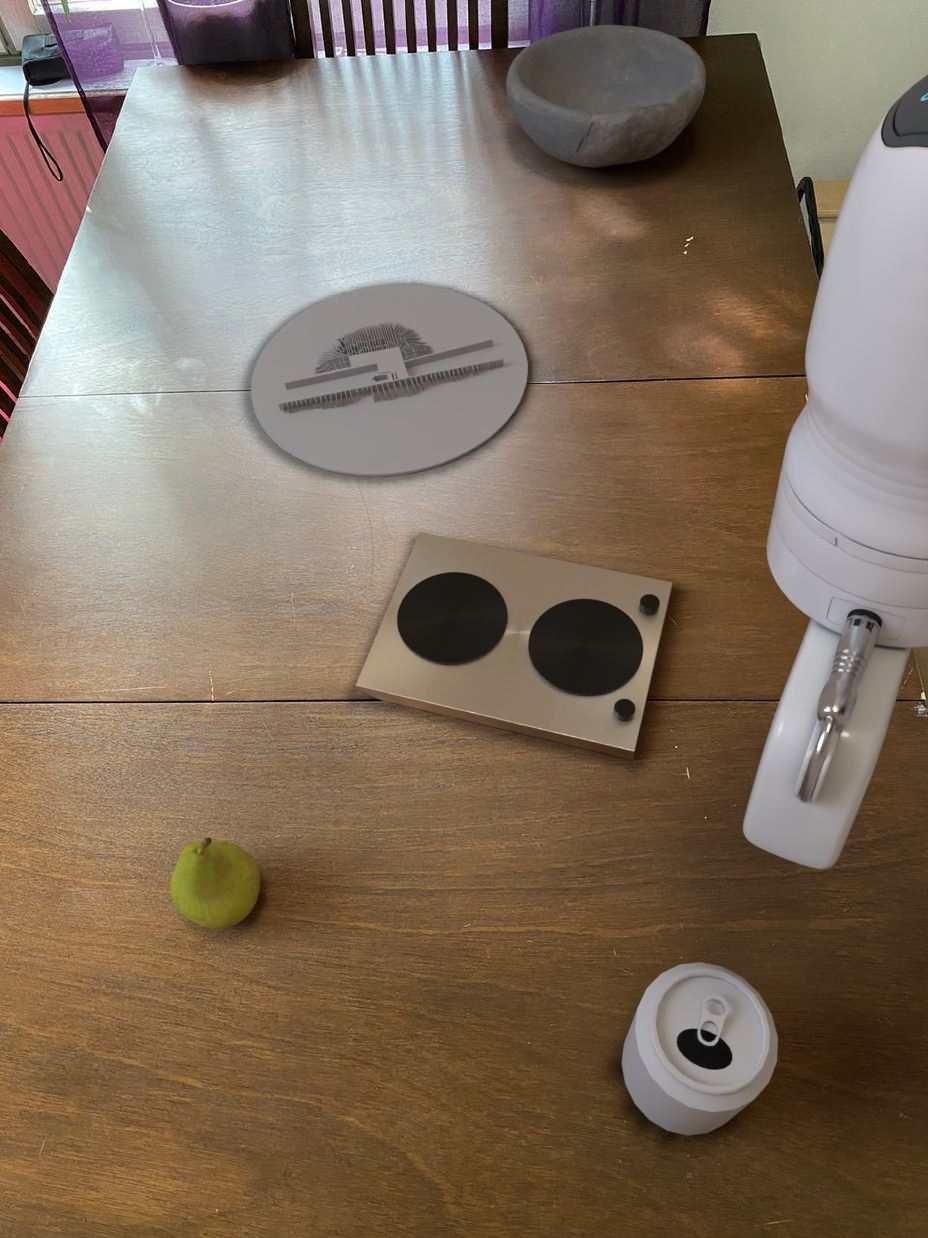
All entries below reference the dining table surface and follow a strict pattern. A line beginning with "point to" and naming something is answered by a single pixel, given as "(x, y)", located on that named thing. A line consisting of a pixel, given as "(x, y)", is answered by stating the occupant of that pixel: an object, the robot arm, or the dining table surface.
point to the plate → (389, 380)
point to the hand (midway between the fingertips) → (825, 733)
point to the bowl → (605, 93)
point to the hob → (520, 643)
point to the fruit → (215, 883)
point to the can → (698, 1048)
